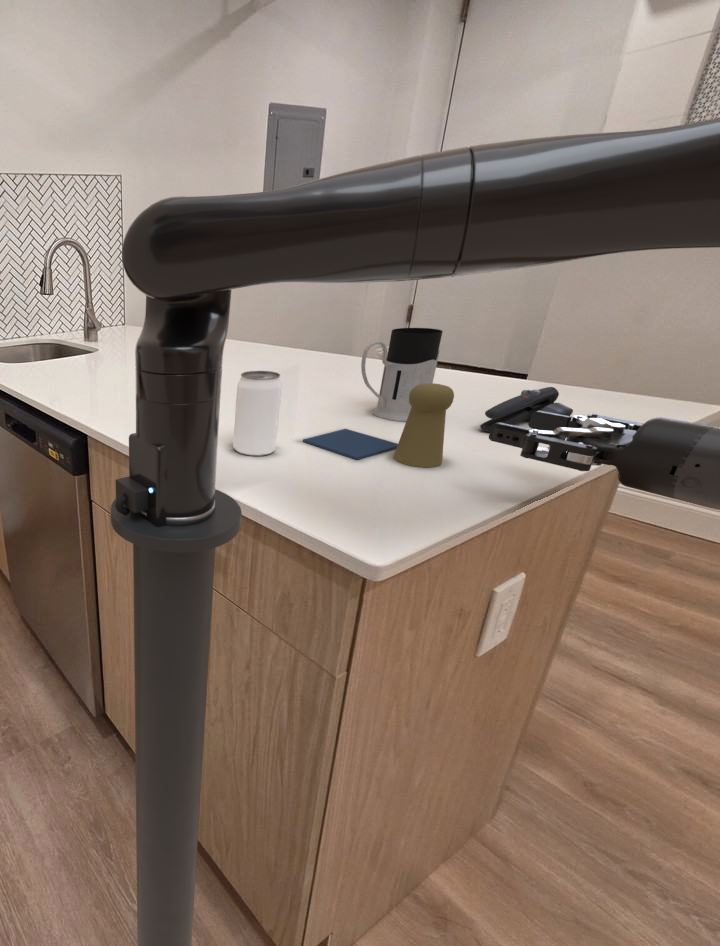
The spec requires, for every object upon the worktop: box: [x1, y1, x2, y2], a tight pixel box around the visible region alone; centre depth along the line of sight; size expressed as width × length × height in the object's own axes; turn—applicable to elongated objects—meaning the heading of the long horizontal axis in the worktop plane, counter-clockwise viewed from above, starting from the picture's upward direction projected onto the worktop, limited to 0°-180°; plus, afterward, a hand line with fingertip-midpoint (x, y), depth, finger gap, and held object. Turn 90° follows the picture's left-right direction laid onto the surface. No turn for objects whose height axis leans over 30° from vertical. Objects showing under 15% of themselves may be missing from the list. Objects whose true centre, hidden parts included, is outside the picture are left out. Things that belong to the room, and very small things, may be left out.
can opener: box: [479, 386, 574, 433], centre depth 86 cm, size 18×7×6 cm, turn 110°
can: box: [232, 370, 283, 457], centre depth 80 cm, size 6×6×12 cm
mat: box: [302, 428, 398, 461], centre depth 83 cm, size 10×10×1 cm
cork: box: [393, 382, 455, 468], centre depth 73 cm, size 6×6×11 cm
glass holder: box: [360, 327, 443, 422], centre depth 92 cm, size 9×14×15 cm, turn 102°
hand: (512, 424), depth 64 cm, fingers open, 8 cm apart
